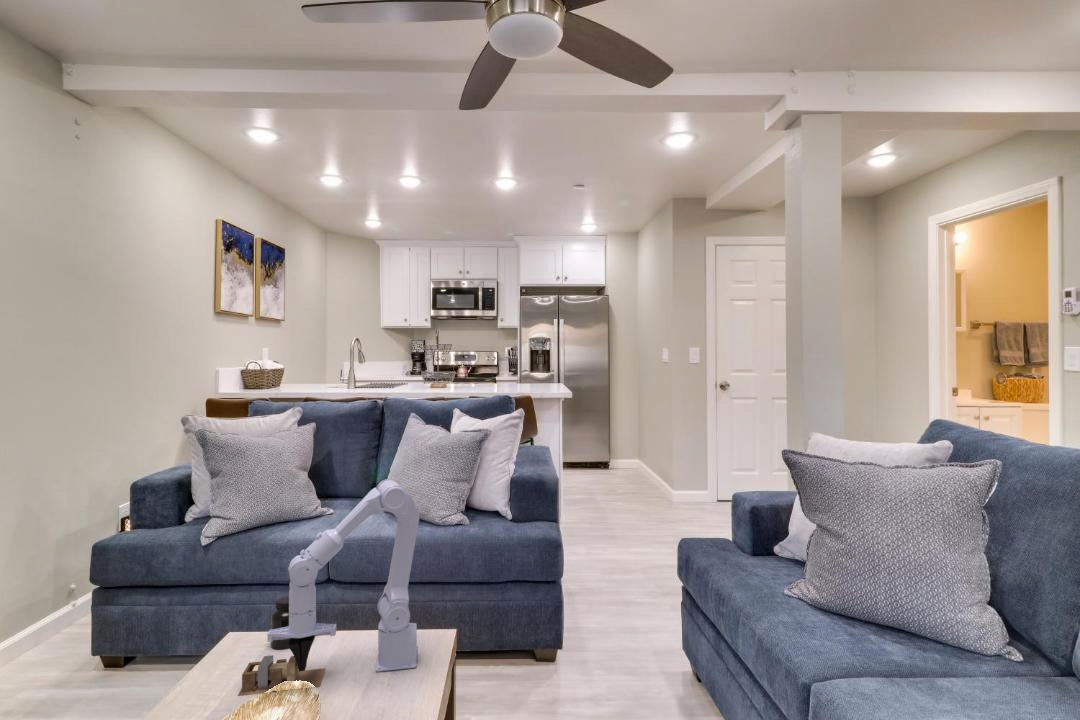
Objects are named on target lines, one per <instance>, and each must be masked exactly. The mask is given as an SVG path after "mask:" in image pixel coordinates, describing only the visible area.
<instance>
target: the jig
mask: <svg viewBox="0 0 1080 720" xmlns="http://www.w3.org/2000/svg"><path fill="white" fill-rule="evenodd" d="M284 662H288V661H287V658H284V659H283V658H281V659H277V660H276V662H275V663H284ZM260 663H261V661H252V662H249V663H248V664H247V666H246V667H245V669H244V671H243V672H242V675H241V689H240V690H239V692H238V694H237V697H243V696H251V695H259V694H260V695H261V694H265V693H264V692H266V691H268V690H269V689H271V688H273V687H274V686H276V685H278V684H280V683H282V682H284V681H287V678H283V679H282V668H281V669H272V671H271V683H270V685H269V687H268V689H263V690H258V681H256V671H253V669H254V667H255V665H260ZM326 670H327V667H324V668H317V669H316V668H315V669H305V671H298V676H297V678H296V680H297V681H299V680H301V681H307V682H310V683H311V684H313V685H314V686H315V687H316V688H320V687H321V685H322V682H323V680H324V675H325V673H326Z"/></svg>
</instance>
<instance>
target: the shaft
mask: <svg viewBox="0 0 1080 720" xmlns="http://www.w3.org/2000/svg"><path fill="white" fill-rule="evenodd" d="M258 666H259V665H255V667H254V669H253V671H256V681H258ZM281 668H282V679H283V678H287V681H296V678H297V676H298V666H297V662H296V659H295V657H294V655H291V656H290V657H289V659H288V661H287V662H284V663H276V662H275V663H274V662H273V664H270V666H269V680H271V671H272V669H281Z"/></svg>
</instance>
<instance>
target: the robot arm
mask: <svg viewBox="0 0 1080 720" xmlns="http://www.w3.org/2000/svg"><path fill="white" fill-rule="evenodd" d="M383 509H385V510H386V511H388V512H389V513H391V514H393V515H394V516H395V517H396V519H397V526H396V532H395V537H394V542H393V549H392V554H391V561H390V567H389V574H388V578H387V582H386V584H385V586H384V588H383V593H382V595H381V597H380V598H379V600H378V602H377V607H376V608H377V611H378V615H380V617H381V618H380V621H379V622H378V626H377V628H378V630H377V631H378V632H377V633H378V635H377V636H378V638H377V644H378V646H377V652H378V653H377V657H376V663H375V669H374V671H375V672H377V673H378V672H385V671H386V672H387V671H395V670H396V671H397V670H405V669H413V668H417V656H418V655H419V647H418V646H417V644H418V643H417V642H418V640H417V638H418V636H417V634H418V633H417V632H418V631H417V630H418V629H417V628H418V627H417V623H415V622H410V619H411V612H410V609H409V603H410V596H409V584H410V583H409V581H410V576H411V570H412V564H413V558H414V553H415V546H416V539H417V535H418V529H419V523H420V513H419V511H418V508H417V506H416V504H415V502H414V499H413V496H412V494H411V493H410V492H409V491H408V490H407V489H406V488H404V487H403V486H402V484H400V483H399V482H398V481H397V480H395V479H392V478H386V479H383V480H382V481H379V483H378V485H377V486H376V487H374V488H372V489H371V490H370V491H368V493H367V494H365V496H364V497H363V498H362V499H361V501H359V503H358V504H357V505H356V506H355V507H354V508H353V509H352V510H351V511H350V512H349V513H348V514H347V515H346V516H345V517H344V518H343V519H342V521H340V522H339V524H337V526H336V527H334V528H331V529H325V530H324V531H323V532H321V531H320V532H318V533H317V534H316V536H315V537H316V539H315V540H314V541H313V542H311V544H310V545H309V546H308V547H306V548H305V549H304V548H303V549H302V550H301V551H300V552H299V554H300V555H299V554H298V555H296V556H294V557H293V558H292V559H291V560H290V563H289V565H288V567H287V569H288V573H289V575H288V576H289V579H290V580H289V581H290V582H289V590H288V597H289V626H287V627H283V628H278V629H272V630H271V629H269V630H268V632H267V636H266V637H267V643H271V642H272V641H273V640H281V639H289V644H288V646H289V649H288V650H290V651H291V653H292V656H294V657H295V659H296V662H297V666H298V671H305V670H307V669H306V668H307V664H308V657H309V655H310V650H311V648H312V645H313V643H314V641H315V638H316V637H321V636H322V637H323V636H330V637H334V636H336V633H337V623H322V622H321V623H319V622H317V587H316V579H317V577H318V573H319V570H321V569H322V568H323V567H325V565H326V564H328V562H330V561H331V559H333V558H334V557H335V556H336V554H338V553H339V552H340V551H341V550H342V549H343V548H344V541H345V539H346V538H347V537H348V536H349V535H350V534H351V533H352V532H353V531H354V530H356V529H357V528H358V527H359V526H361V524H362V523H363V522H365V521H366V520H367V519H369V517H370V516H373V515H380V514H381V515H382V514H384V513H385V512H384V510H383Z"/></svg>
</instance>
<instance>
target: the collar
mask: <svg viewBox="0 0 1080 720" xmlns="http://www.w3.org/2000/svg"><path fill="white" fill-rule="evenodd" d="M274 657H275V656H274V654H273V655H263V657H262V659H261V661H260V662H261V663H260V665H259V666H258V690H263V689H268V687H269V685H270V683H271V680H269V666H270V664H274Z"/></svg>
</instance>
